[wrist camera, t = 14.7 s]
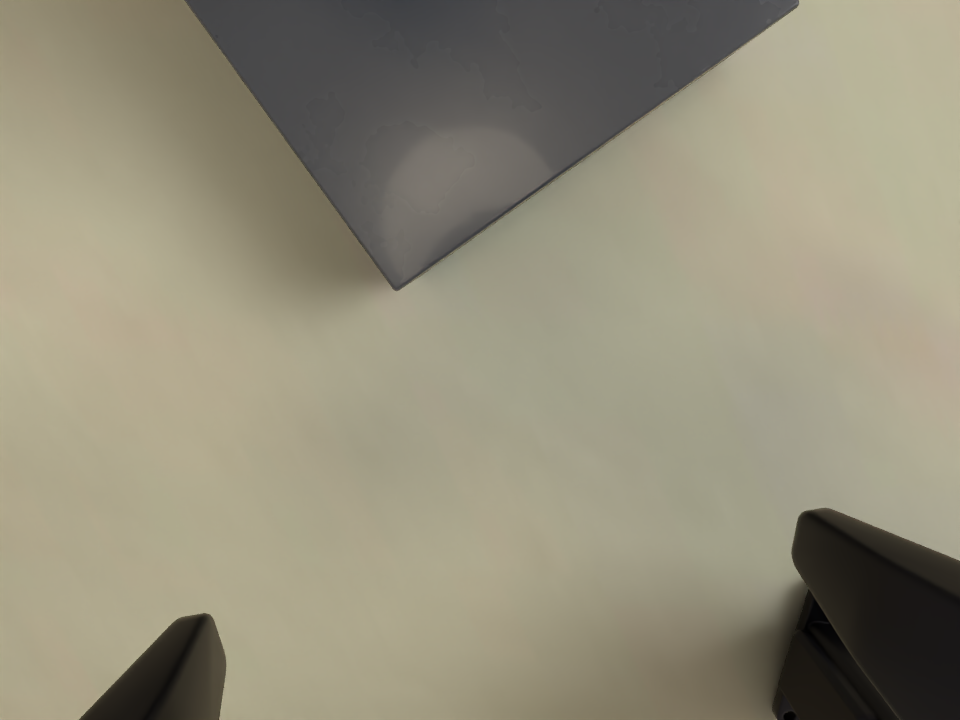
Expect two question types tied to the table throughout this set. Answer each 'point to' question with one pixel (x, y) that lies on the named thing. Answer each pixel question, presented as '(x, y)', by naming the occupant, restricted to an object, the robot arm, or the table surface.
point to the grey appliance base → (462, 97)
